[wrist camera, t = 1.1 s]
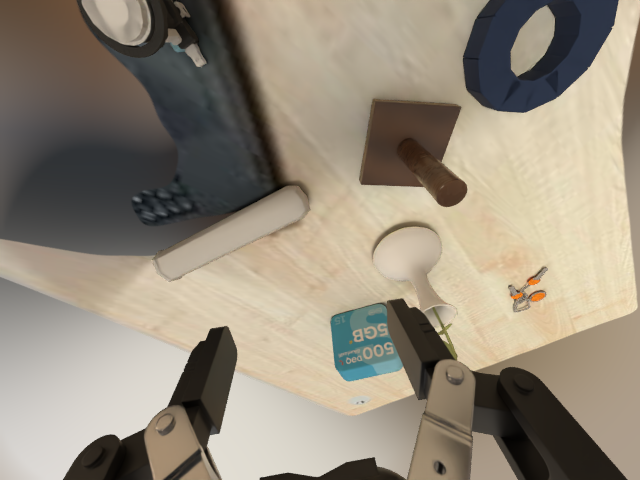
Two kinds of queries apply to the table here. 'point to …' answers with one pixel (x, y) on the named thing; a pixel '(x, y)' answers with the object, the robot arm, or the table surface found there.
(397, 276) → the flower in vase
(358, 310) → the data package
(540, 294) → the key chain
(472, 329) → the table surface
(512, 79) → the ring
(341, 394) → the table surface
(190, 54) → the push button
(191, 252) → the tube
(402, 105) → the stand
